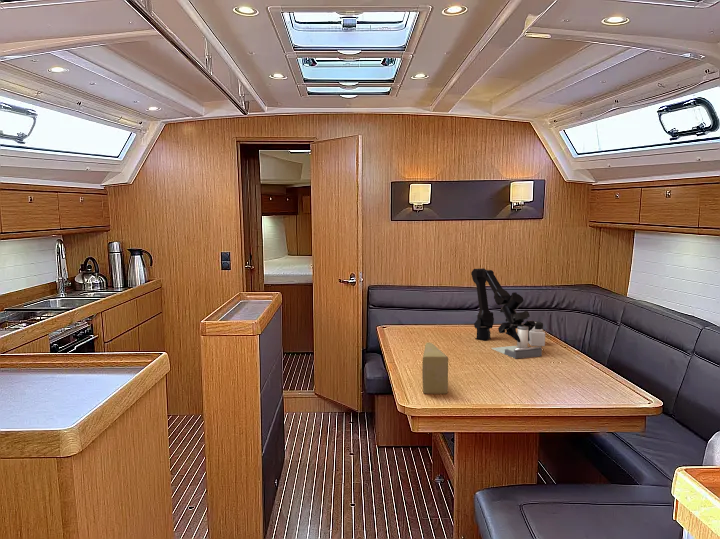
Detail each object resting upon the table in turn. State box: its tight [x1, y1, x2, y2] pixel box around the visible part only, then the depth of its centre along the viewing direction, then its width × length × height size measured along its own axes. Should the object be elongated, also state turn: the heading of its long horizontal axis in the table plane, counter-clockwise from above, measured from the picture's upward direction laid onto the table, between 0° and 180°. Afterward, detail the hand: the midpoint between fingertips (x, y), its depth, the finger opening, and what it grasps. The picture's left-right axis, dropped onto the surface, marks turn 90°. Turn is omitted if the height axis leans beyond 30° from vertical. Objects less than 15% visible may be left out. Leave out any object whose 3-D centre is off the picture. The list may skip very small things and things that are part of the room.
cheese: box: [421, 342, 449, 395], centre depth 195 cm, size 22×10×15 cm, turn 179°
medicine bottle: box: [528, 320, 546, 347], centre depth 259 cm, size 7×7×12 cm
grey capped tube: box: [516, 326, 529, 349], centre depth 238 cm, size 5×5×14 cm
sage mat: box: [490, 345, 517, 355], centre depth 248 cm, size 11×15×1 cm
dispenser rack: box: [504, 346, 543, 360], centre depth 238 cm, size 8×15×5 cm, turn 109°
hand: (524, 341), depth 237 cm, fingers closed on grey capped tube, 5 cm apart
